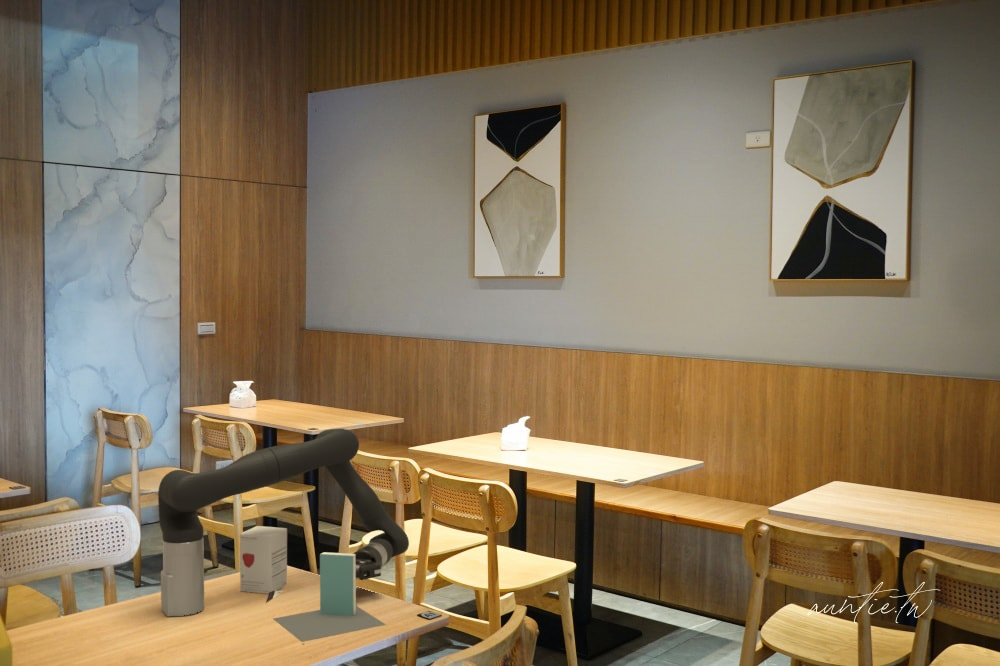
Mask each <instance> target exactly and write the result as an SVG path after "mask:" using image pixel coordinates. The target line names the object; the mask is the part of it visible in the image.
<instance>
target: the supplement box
mask: <svg viewBox="0 0 1000 666" xmlns="http://www.w3.org/2000/svg"><path fill="white" fill-rule="evenodd" d="M239 562H240V563H239V568H240V570H239V572H240V573H239V575H240V577H239V578H240V579H239V584H240V587H239V588H240V590H239V591H240V592H245V591H247V593H255V592H257V593H256V594H265V593H267V595H269V592H272V591H279V590H280V589H282V588H283V587H285V586H287V585H288V528H286V527H275V526H262V525H256V526H254V527H252V528H249V529H247V530H245V531H243V532H241V533H240V534H239Z"/></svg>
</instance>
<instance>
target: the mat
mask: <svg viewBox="0 0 1000 666" xmlns="http://www.w3.org/2000/svg"><path fill="white" fill-rule="evenodd" d="M272 620H274V621H275V622H276V623H278V624H279V625H280V626H282V628H284V629H285V630H286V631H288V632H289V633H290V634H291V635H293V637H295V638H296V639H298V640H299V641H300V642H301V643H305V642H307V641H308V642H309V641H313V640H319V639H324V638H328V637H333V636H338V635H343V634H347V633H351V632H352V633H353V632H359V631H362V630H366V629H371V628H372V629H373V628H376V627H382V626H386V625H387V624H386V623H385V622H382V621H381V620H380V619H378V618H377V617H375V616H374V615H372V614H370V613H369V612H367V611H366V610H364V609H362V608H361V607H359V606H358V605H356V614H355V615H353V616H344V615H330V614H320V609H317V610H316V609H315V610H310V611H307V612H302V613H296V614H289V615H285V616H279V617H275V618H272Z"/></svg>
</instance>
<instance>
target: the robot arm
mask: <svg viewBox="0 0 1000 666" xmlns="http://www.w3.org/2000/svg"><path fill="white" fill-rule="evenodd" d="M359 447H360V442H359V438H358V436H357V435H356V434H355V433H354V432H352V431H351V430H349V429H346V428H330V429H329V428H328V429H325V430H322V431H320V432H319V433H318V434H317V435H316V436H315V438H314V439H312V440H308V441H304V442H296V443H287V444H281V445H274V446H270V447H265V448H261V449H260V450H259V449H258V450H256V451H252V452H248V453H247V454H244V455H242V456H241V457H239V458H238V459H236V460H235V461H233V462H231V463H230V464H228V465H226V466H224V467H221V468H217V469H212V470H208V471H203V472H197V473H194V472H190V471H187V470H184V469H175V470H172V471H169V472H167V473H166V474H165V475H164V476H163V477H162V479H161V481H160V483H159V486H158V491H157V493H158V495H157V496H158V497H157V498H158V519H159V520H158V521H159V527H160V530H161V533H162V570H161V571H160V602H161V603H160V605H161V606H160V607H161V611H162V612H163V613H164V614H165V616H166V617H183V616H184V615H185V616H191V615H195V614H197V612H198V613H200V611H201V612H202V611H204V609H205V557H204V556H205V555H204V554H205V553H204V550H205V549H204V547H205V545H204V544H205V543H204V526H203V524H202V522H201V520H200V519H199V515H198V510H200V509H201V510H202V509H203V508H205V507H209V505H212V504H215V503H216V502H219V501H221V500H224V499H227V498H229V497H233V496H236V495H240V494H245V493H248V492H252V491H255V490H259V489H262V488H266V487H269V486H273V485H276V484H279V483H281V482H284V481H287V480H289V479H293V478H295V477H298V476H300V475H303V474H305V473H307V472H310V471H313V470H316V469H320V468H323V467H324V468H325V469H326V470H327V471H328V473H330V475H331V476H332V477H333V480H335V481H336V483H337V484H338V486H339V487H340V488H341V490H342V491H343V493H344V494H345V496H346V497H347V499H348V501H349V502H350V504H351V505H352V508H353V509H354V511H355V513H356V514H357V516H358V518H359V520H360V522H361V523H362V525H363V528H365V530H367V531H369V532H376V531H381V532H382V533H379V534H377V535H375V536H373V537H372V538H370V540H369V541H368V543H366V544H365V545H363V546H361V547H360V548H358V549H357V550H356V551H355V552H353V553H352V554H355V559H356V581H357V580H359V581H363V580H364V581H365V580H369V579H373V578H377V577H381V576H382V569H383V568H384V566H386V565H387V564H388V563H389V562H390V561H391V559H392V558H394V557H397V556H400V555H402V554H404V553H406V552H407V551H408V549H409V546H410V540H409V537H408V535H407V533H406V532H405V530H404V529H403V528H402V527H401V526H400V525H399V524H397V522H396V521H395V520H394V519H393V518H392V516H390V515H389V513H387V511H386V509H385V507H384V504H382V501H381V500H380V498H379V496H378V494H376V492H375V491H374V489H373V488H372V487H371V486H370V485H369V484H368V483H367V482H366V481H365V480H364V478H362V476H361V475H360V474H359V473H358V472H357V470H356V469H355V468H354V466H353V464H352V463H351V461H352V460H353V459H354V458H355V457H356V455H357V453H358V452H359V449H360V448H359ZM190 614H191V615H190Z"/></svg>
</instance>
